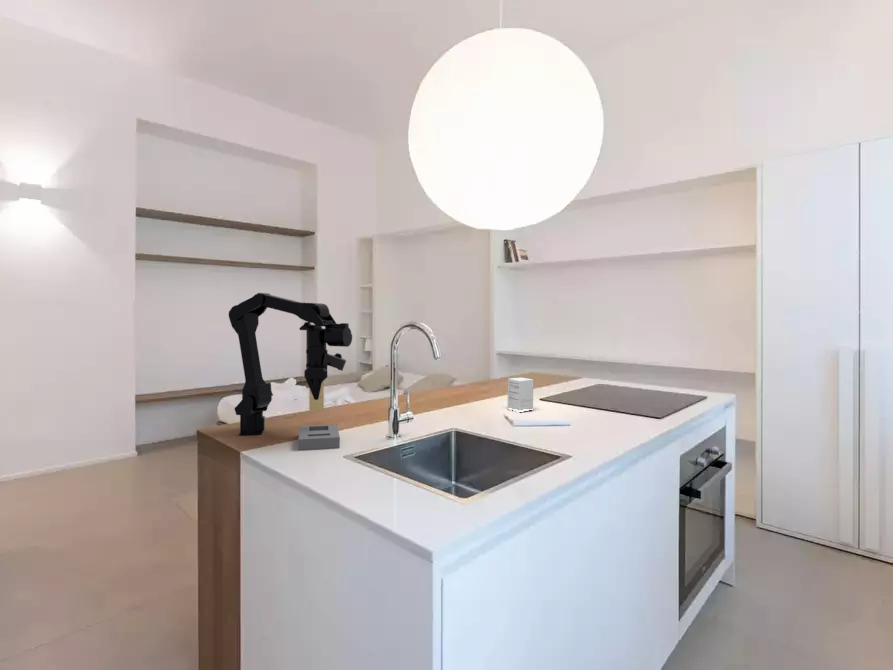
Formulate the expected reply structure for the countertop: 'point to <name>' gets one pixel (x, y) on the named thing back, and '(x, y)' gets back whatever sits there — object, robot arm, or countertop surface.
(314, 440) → the socket block
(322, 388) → the brass peg
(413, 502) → the countertop surface
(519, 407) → the supplement box
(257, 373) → the robot arm
